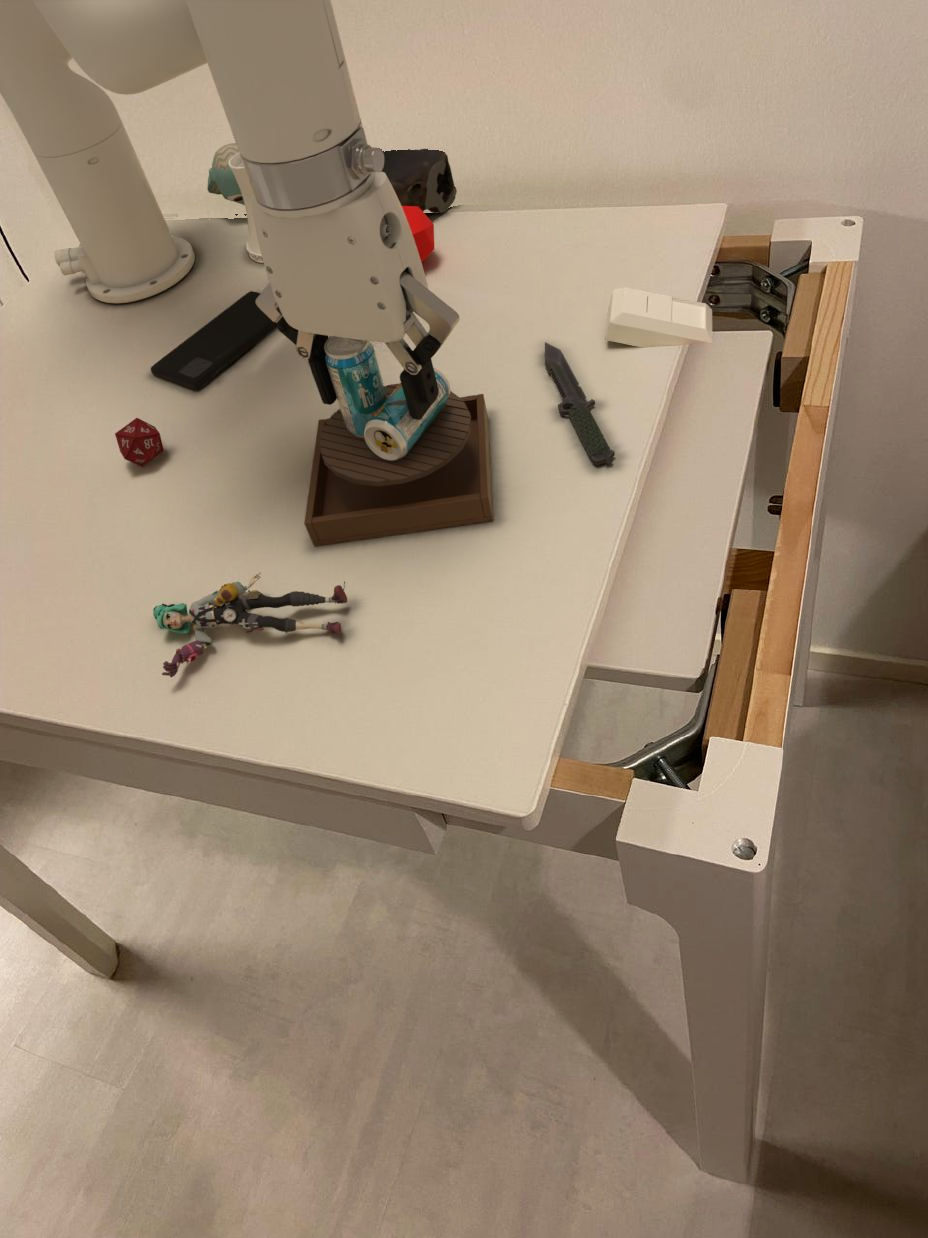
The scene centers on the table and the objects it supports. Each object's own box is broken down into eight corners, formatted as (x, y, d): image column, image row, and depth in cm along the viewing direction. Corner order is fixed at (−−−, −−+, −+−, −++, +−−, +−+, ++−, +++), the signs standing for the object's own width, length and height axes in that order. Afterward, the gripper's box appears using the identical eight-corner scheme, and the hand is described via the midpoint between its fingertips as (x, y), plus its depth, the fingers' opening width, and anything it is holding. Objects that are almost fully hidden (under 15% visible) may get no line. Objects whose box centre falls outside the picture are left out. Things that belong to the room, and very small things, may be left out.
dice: (118, 472, 85) (97, 438, 82) (148, 440, 87) (129, 405, 84) (150, 479, 83) (130, 444, 80) (180, 447, 85) (161, 411, 82)
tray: (313, 546, 74) (304, 523, 72) (326, 442, 82) (318, 419, 80) (493, 521, 72) (487, 496, 70) (488, 417, 80) (483, 393, 78)
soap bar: (608, 307, 86) (615, 281, 83) (705, 326, 86) (715, 301, 83) (604, 339, 83) (612, 314, 80) (705, 360, 83) (715, 334, 80)
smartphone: (251, 294, 101) (149, 374, 94) (248, 287, 100) (146, 367, 93) (301, 308, 97) (199, 392, 90) (298, 300, 96) (196, 384, 90)
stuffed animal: (242, 240, 121) (199, 220, 109) (222, 185, 120) (177, 158, 108) (317, 208, 118) (281, 183, 107) (297, 150, 117) (259, 119, 106)
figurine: (140, 678, 65) (165, 696, 68) (342, 617, 64) (358, 638, 67) (135, 590, 68) (159, 611, 72) (327, 530, 67) (342, 554, 70)
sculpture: (351, 250, 96) (272, 222, 102) (368, 296, 101) (292, 267, 106) (471, 129, 102) (390, 109, 108) (481, 178, 107) (404, 156, 113)
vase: (322, 226, 108) (294, 137, 101) (300, 261, 104) (270, 171, 96) (263, 229, 110) (231, 143, 103) (239, 264, 106) (205, 176, 98)
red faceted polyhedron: (453, 268, 99) (384, 297, 101) (433, 206, 99) (364, 237, 101) (436, 247, 92) (362, 279, 94) (415, 181, 92) (341, 214, 94)
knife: (625, 453, 73) (587, 464, 73) (625, 461, 73) (588, 472, 73) (558, 333, 85) (526, 342, 85) (559, 341, 85) (528, 350, 85)
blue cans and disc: (371, 376, 79) (347, 290, 73) (498, 401, 74) (484, 311, 68) (290, 467, 73) (257, 381, 67) (423, 501, 68) (400, 411, 62)
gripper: (461, 139, 56) (505, 385, 69) (232, 133, 63) (312, 357, 76) (401, 203, 52) (460, 451, 65) (165, 189, 59) (261, 415, 73)
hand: (380, 399), depth 71 cm, fingers closed on blue cans and disc, 7 cm apart
